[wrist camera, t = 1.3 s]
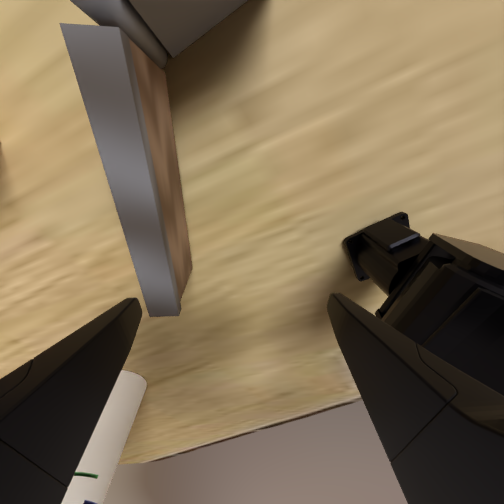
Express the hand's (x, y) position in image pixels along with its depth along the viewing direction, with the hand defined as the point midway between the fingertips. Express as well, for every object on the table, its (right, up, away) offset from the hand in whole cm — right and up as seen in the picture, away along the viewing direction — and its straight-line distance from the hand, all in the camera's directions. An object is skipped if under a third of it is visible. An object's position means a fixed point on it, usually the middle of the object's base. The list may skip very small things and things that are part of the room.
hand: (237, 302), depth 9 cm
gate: (-6, +8, +8) cm, 13 cm away
